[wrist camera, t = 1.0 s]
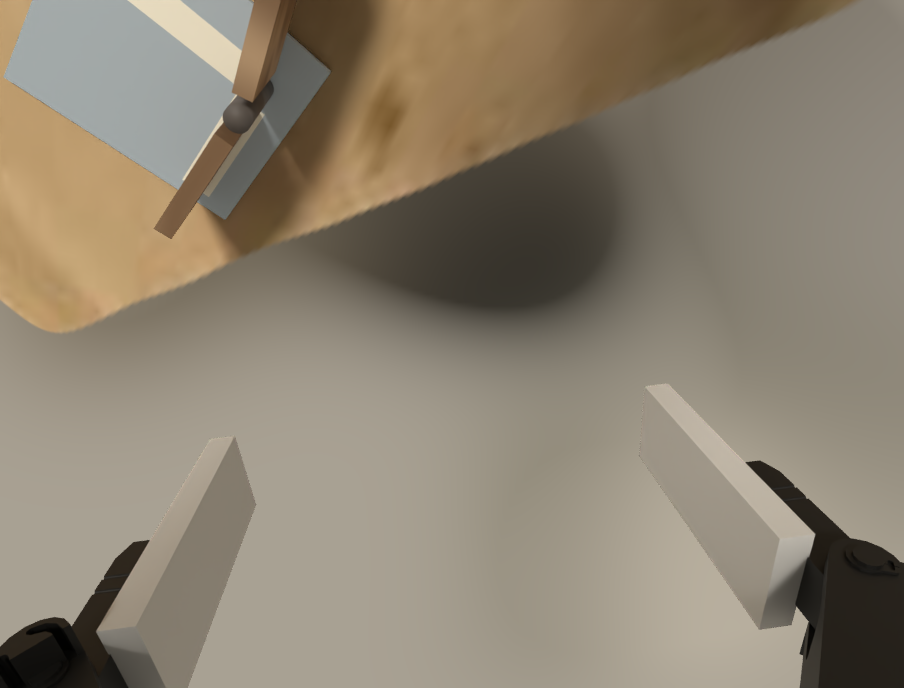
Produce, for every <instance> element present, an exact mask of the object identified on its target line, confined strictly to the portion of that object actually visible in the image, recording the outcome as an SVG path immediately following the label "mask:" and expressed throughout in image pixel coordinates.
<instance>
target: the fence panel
mask: <svg viewBox="0 0 904 688" xmlns="http://www.w3.org/2000/svg"><path fill="white" fill-rule="evenodd" d="M296 1H297V0H254V4H253V8H252V12H251V16H250V20H249V24H248V28H247V32H246V36H245V40H244V44H243V48H242V52H241V56H240V60H239V64H238V68H237V72H236V76H235V80H234V84H233V88H232V93H234V94H236V95H238V96H240V97H242V98H244V99H246V100H248V101H250V102H253V101H254V100H255V99H256V97H257V96H258V95H259V93H260V92H261V91H262V89H263V88H264V87H265V85H266V84H267V83H268V81H269V80H270V79H271V77H272V76H273V75H274V73H275V72H276V69H277V66H278V62H279V59H280V55H281V52H282V49H283V45H284V42H285V38H286V35H287V32H288V28H289V25H290V21H291V18H292V14H293V11H294V8H295V4H296Z"/></svg>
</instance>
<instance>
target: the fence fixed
mask: <svg viewBox="0 0 904 688" xmlns="http://www.w3.org/2000/svg"><path fill="white" fill-rule="evenodd" d="M273 92H274V87H273V84H272V82H271V81H270V80H269V81H268V83H267V84H266V85H265V87H264V88H263V89H262V91H261V92H260V93H259V95H258V96H257V97H256V99H255V100H254V101H253V102H250V101H248V100H246V99H244V98H242V97H240V96H238V95H237V96H236V97H235V99H234V100H233V101H232V102H231V103H230V104H229V106H228V107H227V108H226V109H225V110H224V112H223V123H222V125H221V126H220V127H219V128H218V129H217V131H216V132H215V133H214V135H213V136H212V138H211V139H210V141H209V143H208V144H207V146H206V147H205V149H204V150H203V152H202V154H201V155H200V157H199V158H198V160H197V161H196V163H195V165H194V166H193V168H192V169H191V171H190V172H189V174H188V176H187V177H186V179H185V180H184V182H183V183H182V185H181V187H180V188H179V190H178V191H177V193H176V194H175V196H174V198H173V199H172V201H171V202H170V204H169V206H168V207H167V209H166V210H165V212H164V213H163V215H162V217H161V218H160V220H159V221H158V223H157V224H156V226H155V228H154V229H155V230H157V231H158V232H160V233H162V234H163V235H165V236H167V237H169V238H170V239H172V237H173V236H174V234H175V233H176V232H177V230H178V229H179V227H180V226H181V224H182V223H183V221H184V220H185V219H186V217H187V216H188V214H189V213H190V211H191V210H192V208H193V207H194V205H195V204H196V203H197V201H198V200H199V198H200V197H201V195H202V194H203V192H204V191H205V189H206V188H207V186H208V185H209V183H210V182H211V180H212V179H213V177H214V176H215V174H216V173H217V171H218V170H219V168H220V167H221V165H222V164H223V162H224V161H225V159H226V158H227V156H228V155H229V153H230V152H231V150H232V149H233V147H234V146H235V144H236V143H237V141H238V140H239V138H240V137H241V135H242V134H243V133H245V132H247V131H248V130H249V128H250V127H251V126H252V124H253V123H254V121H255V120H256V118H257V117H258V115H259V114H260V112H261V111H262V109H263V108H264V106H265V105H266V104H267V102H268V101H269V99H270V98H271V96H272V95H273Z"/></svg>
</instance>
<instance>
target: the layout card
mask: <svg viewBox="0 0 904 688" xmlns="http://www.w3.org/2000/svg"><path fill="white" fill-rule="evenodd" d="M253 4H254V2H253V1H252V0H32V3H31V5H30V8H29V11H28V13H27V16H26V19H25V21H24V24H23V27H22V29H21V32H20V35H19V37H18V40H17V43H16V45H15V48H14V51H13V53H12V56H11V59H10V61H9V64H8V67H7V69H6V72H5V75H4V78H6V79H7V80H9V81H10V82H12V83H13V84H15V85H17V86H18V87H20V88H21V89H23V90H24V91H26V92H27V93H29V94H30V95H32V96H34V97H35V98H37V99H38V100H40V101H41V102H43V103H44V104H46V105H48V106H49V107H51V108H52V109H54V110H55V111H57V112H58V113H60V114H62V115H63V116H65V117H66V118H68V119H69V120H71V121H72V122H74V123H75V124H77V125H79V126H80V127H82V128H83V129H85V130H86V131H88V132H89V133H91V134H93V135H94V136H96V137H97V138H99V139H100V140H102V141H103V142H105V143H106V144H108V145H110V146H111V147H113V148H114V149H116V150H117V151H119V152H120V153H122V154H124V155H125V156H127V157H128V158H130V159H131V160H133V161H134V162H136V163H138V164H139V165H141V166H142V167H144V168H145V169H147V170H148V171H150V172H151V173H153V174H155V175H156V176H158V177H159V178H161V179H162V180H164V181H165V182H167V183H169V184H170V185H172V186H173V187H175V188H176V189H178V190H179V188H180V187H181V185H182V183H183V182H184V180H185V179H186V177H187V176H188V174H189V172H190V171H191V169H192V168H193V166H194V165H195V163H196V161H197V160H198V158H199V157H200V155H201V154H202V152H203V150H204V149H205V147H206V146H207V144H208V143H209V141H210V139H211V138H212V136H213V135H214V133H215V132H216V131H217V129H218V128H219V127H220V126H221V125H222V123H223V112H224V110H225V109H226V108H227V107H228V106H229V104H230V103H231V102H232V101H233V100H234V99H235V97H236V96H237V95H236V94H234V93H232V88H233V84H234V80H235V76H236V72H237V68H238V64H239V60H240V56H241V52H242V48H243V44H244V40H245V36H246V32H247V28H248V24H249V20H250V16H251V12H252V8H253ZM330 73H331V70H330V69H328V68H327V67H326V66H325V65H324V64H323V63H322V62H321V61H319V60H318V59H317V58H316V57H315V56H314V55H313V54H311V53H310V52H309V51H308V50H307V49H306V48H305V47H304V46H302V45H301V44H300V43H299V42H298V41H297V40H296V39H295V38H293V37H292V36H291V35H290V34H289V33H288V32H287V35H286V38H285V42H284V45H283V49H282V52H281V55H280V59H279V62H278V66H277V69H276V72H275V73H274V75H273V76H272V77H271V79H270V81H271V82H272V84H273V87H274V92H273V95H272V96H271V98H270V99H269V101H268V102H267V104H266V105H265V106H264V108H263V109H262V111H261V112H260V114H259V115H258V117H257V118H256V120H255V121H254V123H253V124H252V126H251V127H250V128H249V130H248V131H247V132H245V133H243V134H242V135H241V137H240V138H239V140H238V141H237V143H236V144H235V146H234V147H233V149H232V150H231V152H230V153H229V155H228V156H227V158H226V159H225V161H224V162H223V164H222V165H221V167H220V168H219V170H218V171H217V173H216V174H215V176H214V177H213V179H212V180H211V182H210V183H209V185H208V186H207V188H206V189H205V191H204V192H203V194H202V195H201V197H200V198H199V200H198V201H197V202H198V203H200V204H201V205H203V206H204V207H206V208H207V209H209V210H210V211H212V212H213V213H215V214H217V215H218V216H220V217H221V218H223V219H224V220H226V218H227V217H228V215H229V214H230V213H231V211H232V210H233V208H234V207H235V206H236V204H237V203H238V201H239V200H240V199H241V197H242V196H243V194H244V193H245V192H246V190H247V189H248V187H249V186H250V185H251V183H252V182H253V180H254V179H255V178H256V176H257V175H258V174H259V172H260V171H261V169H262V168H263V167H264V165H265V164H266V162H267V161H268V160H269V158H270V157H271V155H272V154H273V153H274V151H275V150H276V148H277V147H278V146H279V144H280V143H281V141H282V140H283V139H284V137H285V136H286V134H287V133H288V132H289V130H290V129H291V127H292V126H293V125H294V123H295V122H296V120H297V119H298V118H299V116H300V115H301V114H302V112H303V111H304V109H305V108H306V107H307V105H308V104H309V102H310V101H311V100H312V98H313V97H314V95H315V94H316V93H317V91H318V90H319V88H320V87H321V86H322V84H323V83H324V81H325V80H326V79H327V77H328V76H329V74H330Z"/></svg>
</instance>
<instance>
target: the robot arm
mask: <svg viewBox="0 0 904 688" xmlns="http://www.w3.org/2000/svg"><path fill="white" fill-rule="evenodd" d="M643 401H644V402H643V415H642V428H641V441H640V455H639V456H640V458H641V459H642V461H643V462H644V464H645V465H646V466H647V468H648V469H649V471H650V472H651V473H652V475H653V477H654V478H655V479H656V481H657V482H658V484H659V485H660V487H661V488H662V490H663V491H664V493H665V494H666V495H667V497H668V498H669V500H670V501H671V503H672V504H673V506H674V507H675V508H676V510H677V511H678V513H679V514H680V516H681V517H682V519H683V520H684V521H685V523H686V524H687V525H688V527H689V529H690V530H691V532H692V533H693V534H694V536H695V537H696V539H697V540H698V542H699V543H700V544H701V546H702V547H703V549H704V550H705V552H706V553H707V555H708V556H709V558H710V559H711V561H712V562H713V563H714V565H715V566H716V568H717V569H718V571H719V572H720V574H721V575H722V576H723V578H724V579H725V581H726V582H727V584H728V585H729V587H730V588H731V589H732V591H733V592H734V594H735V595H736V597H737V598H738V600H739V601H740V602H741V604H742V605H743V607H744V608H745V610H746V611H747V613H748V614H749V616H750V617H751V618H752V620H753V621H754V623H755V624H756V626H757V627H758V629H767V628H774V627H781V626H788V625H791V624H792V621H793V617H794V613H795V610H796V606H797V607H798V609H799V610H800V611H801V612H802V614H803V615H804V616H805V617H806V619H807V620H808V621H809V622H808V626H807V629H806V633H805V636H804V640H803V644H802V647H801V651H800V654H801V655H803V663H802V674H801V683H800V688H904V563H902V562H899V560H898V559H897V558H896V557H894V555H892V554H891V553H889V552H887V551H886V550H884V549H883V548H881V547H879V546H877V545H874V544H872V543H869V542H867V541H862V540H857V539H851V538H849V537H848V536H847V535H846V534H845V533H844V532H843V531H842V530H841V529H840V528H839V527H838V526H837V525H836V524H835V523H834V522H833V521H832V520H830V519H829V518H828V517H827V516H826V515H825V514H824V513H823V512H822V511H821V510H820V509H819V508H818V507H817V506H816V505H815V504H814V503H813V502H812V501H810V500H809V499H806V496H805V495H804V494H803V493H802V492H801V491H800V490H799V489H798V488H795V487H794V485H793V483H792V482H790V481H789V480H788V479H787V478H786V477H785V476H784V475H783V474H782V473H781V472H780V471H778V470H776V469H775V468H773V467H771V466H769V465H767V464H765V463H764V462H761V461H752V462H744V461H743V460H742V459H741V458H740V457H739V456H738V455H737V454H736V453H735V452H734V451H733V450H732V449H731V448H730V447H729V446H728V445H727V444H726V443H725V442H724V441H723V440H722V439H721V437H719V436H718V435H717V433H716V432H715V431H714V430H713V429H712V428H711V427H710V426H709V425H708V424H707V423H706V422H705V421H704V420H703V419H702V418H701V417H700V416H699V415H698V414H697V413H696V412H695V411H694V410H693V409H692V408H691V407H690V406H689V405H688V404H687V403H686V402H685V401H684V400H683V399H682V398H681V397H680V396H679V395H678V394H677V393H676V392H675V391H674V390H673V389H672V388H671V387H670V385H669V384H660V385H652V386H645V388H644V400H643ZM255 506H256V503H255V500H254V496H253V493H252V490H251V487H250V483H249V480H248V477H247V474H246V471H245V467H244V464H243V461H242V457H241V454H240V451H239V448H238V445H237V442H236V438H235V436H230V437H221V438H213V439H210V440H209V441H208V443H207V445H206V446H205V448H204V450H203V452H202V454H201V455H200V457H199V458H198V460H197V462H196V463H195V465H194V467H193V469H192V470H191V472H190V474H189V475H188V477H187V479H186V480H185V482H184V484H183V485H182V487H181V489H180V490H179V492H178V494H177V496H176V497H175V499H174V501H173V502H172V504H171V506H170V507H169V509H168V511H167V512H166V514H165V516H164V517H163V519H162V521H161V523H160V524H159V526H158V528H157V529H156V531H155V533H154V534H153V536H152V538H151V539H150V540H147V541H139V542H133V543H132V544H131V545H130V546H129V547H128V548H127V549H126V550H124V552H122V553H121V554H120V555H119V556H118V557H117V558H116V559H115V560H114V562H113V563H112V565H111V566H110V568H109V570H108V571H107V573H106V574H105V576H104V580H101V582H100V584H99V585H98V587H97V588H96V590H95V594H94V595H92V596H91V598H90V599H89V601H88V602H87V604H86V605H85V607H84V608H83V610H82V612H81V613H80V615H79V616H78V618H77V619H76V621H75V622H74V624H73V625H72V627H71V625H70V624H69V623H68V622H67V621H66V620H65V619H64V618H56V617H53V618H48V619H43V620H40V621H37V622H35V623H33V624H31V625H29V626H26V627H25V628H23V629H21V630H20V631H19V632H17V633H16V634H14V635H13V636H11V637H10V638H9V639H8V640H7V641H6V642H5V643H4V644H3V645H2V646H1V647H0V688H188V685H189V682H190V680H191V677H192V674H193V672H194V669H195V666H196V664H197V661H198V658H199V656H200V653H201V650H202V648H203V645H204V642H205V640H206V637H207V634H208V632H209V629H210V626H211V624H212V621H213V618H214V615H215V613H216V610H217V607H218V605H219V601H220V600H221V597H222V594H223V592H224V589H225V586H226V584H227V581H228V578H229V576H230V573H231V570H232V567H233V565H234V562H235V559H236V557H237V554H238V551H239V549H240V546H241V544H242V541H243V538H244V535H245V533H246V530H247V528H248V525H249V522H250V520H251V517H252V514H253V511H254V508H255Z"/></svg>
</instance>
